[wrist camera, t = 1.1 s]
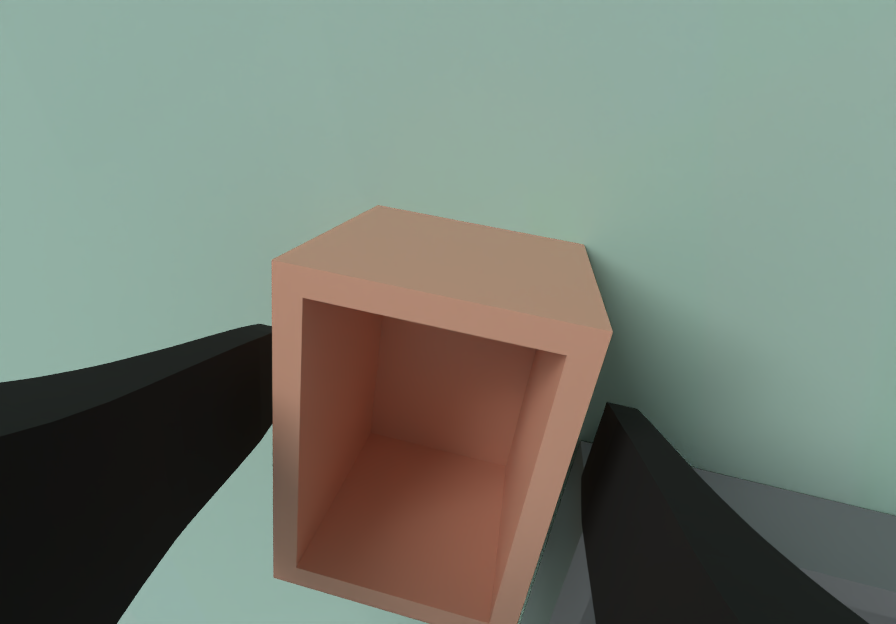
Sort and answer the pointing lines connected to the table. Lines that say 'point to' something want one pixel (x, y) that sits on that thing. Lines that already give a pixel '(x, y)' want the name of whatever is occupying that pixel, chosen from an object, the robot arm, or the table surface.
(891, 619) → the big crate
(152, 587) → the table surface
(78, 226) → the table surface
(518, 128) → the table surface
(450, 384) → the small crate
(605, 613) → the robot arm
